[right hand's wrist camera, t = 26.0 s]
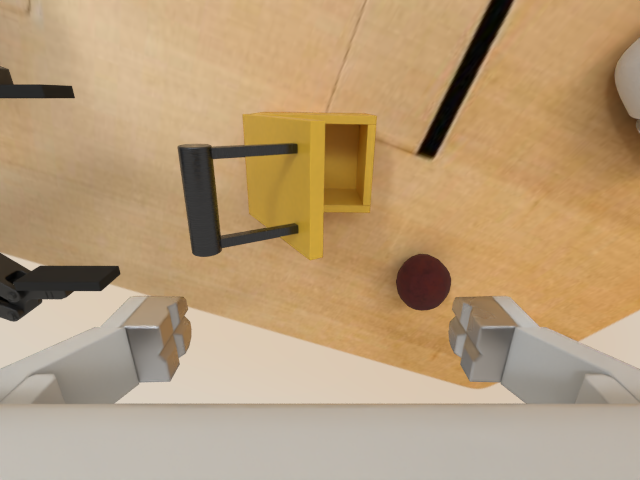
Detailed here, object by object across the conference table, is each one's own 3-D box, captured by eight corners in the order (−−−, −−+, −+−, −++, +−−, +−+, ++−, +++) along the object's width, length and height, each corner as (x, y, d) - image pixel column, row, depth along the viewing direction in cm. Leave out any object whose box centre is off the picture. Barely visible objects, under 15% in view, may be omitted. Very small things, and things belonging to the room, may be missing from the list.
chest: (365, 113, 42) (376, 115, 34) (360, 193, 46) (369, 213, 38) (263, 112, 42) (249, 113, 34) (266, 192, 46) (255, 211, 38)
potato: (393, 295, 52) (404, 323, 45) (389, 249, 49) (400, 272, 42) (441, 289, 51) (459, 316, 45) (441, 243, 49) (460, 264, 42)
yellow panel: (325, 120, 23) (180, 122, 18) (323, 257, 27) (202, 286, 22) (253, 114, 34) (151, 114, 29) (259, 212, 37) (169, 225, 33)
